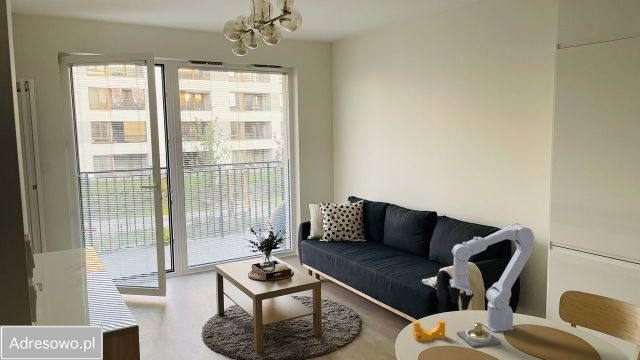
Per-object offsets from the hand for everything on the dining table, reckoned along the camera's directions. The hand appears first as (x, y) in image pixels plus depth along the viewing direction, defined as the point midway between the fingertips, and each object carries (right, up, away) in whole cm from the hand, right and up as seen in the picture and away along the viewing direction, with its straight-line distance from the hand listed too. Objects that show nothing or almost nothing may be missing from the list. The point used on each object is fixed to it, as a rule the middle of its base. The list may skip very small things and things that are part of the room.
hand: (460, 306), depth 194 cm
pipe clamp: (-14, -11, -7) cm, 19 cm away
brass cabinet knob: (+4, -9, -9) cm, 14 cm away
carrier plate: (+4, -10, -9) cm, 15 cm away
